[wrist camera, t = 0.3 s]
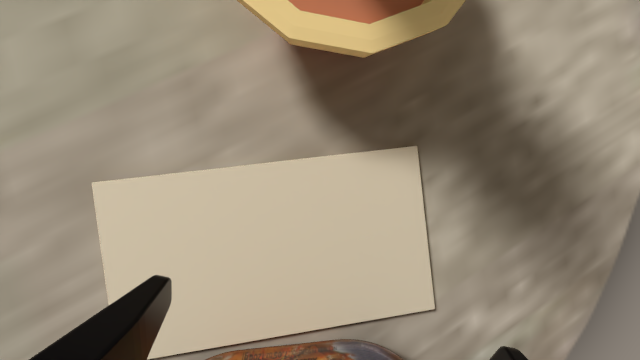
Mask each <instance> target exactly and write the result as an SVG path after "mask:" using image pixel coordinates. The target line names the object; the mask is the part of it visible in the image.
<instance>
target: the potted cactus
mask: <svg viewBox="0 0 640 360" xmlns="http://www.w3.org/2000/svg"><path fill="white" fill-rule="evenodd" d="M237 1H238V2H240V3H241V4H242V5H243V6H244V7H246V8H247V9H248V10H249V11H251V12H252V13H253V14H254V15H255V16H257V17H258V18H259V19H260V20H262V21H263V22H264V23H265V24H266V25H268V26H269V27H270V28H271V29H273V30H274V31H275V32H276V33H277V34H279V35H280V36H281V37H282V38H283V39H285V40H286V41H287V42H288V43H290V44H291V45H297V46H302V47H308V48H313V49H319V50H324V51H330V52H335V53H341V54H346V55H352V56H357V57H363V58H365V57H367V56H370V55H373V54H375V53H378V52H380V51H383V50H386V49H388V48H391V47H394V46H396V45H399V44H402V43H404V42H407V41H409V40H412V39H415V38H417V37H420V36H423V35H425V34H428V33H430V32H433V31H435V30H437V29H439V28H442V27H444V26H446V25H447V24H448V23H449V22H450V20H451V19H452V18H453V16H454V15H455V14H456V13H457V11H458V10H459V9H460V7H461V6H462V5H463V3H464V2H465V1H466V0H237Z"/></svg>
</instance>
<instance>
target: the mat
mask: <svg viewBox="0 0 640 360" xmlns="http://www.w3.org/2000/svg"><path fill="white" fill-rule="evenodd" d="M92 189H93V196H94V203H95V211H96V218H97V225H98V232H99V239H100V246H101V254H102V261H103V268H104V275H105V282H106V289H107V297H108V304H109V305H110V304H112V303H113V302H115V301H116V300H118V299H119V298H121V297H122V296H124V295H125V294H127V293H128V292H129V291H131V290H132V289H134V288H135V287H137V286H138V285H140V284H141V283H143V282H144V281H146V280H147V279H149V278H150V277H152V276H154V275H160V276H165V277H169V278H170V279H171V281H172V300H171V304H170V307H169V310H168V312H167V314H166V316H165V319H164V321H163V323H162V326H161V328H160V330H159V332H158V335H157V337H156V339H155V341H154V344H153V346H152V348H151V351H150V353H149V355H148V357H147V359H153V358H158V357H164V356H170V355H176V354H181V353H187V352H193V351H198V350H204V349H210V348H215V347H221V346H227V345H233V344H238V343H244V342H250V341H255V340H261V339H267V338H273V337H278V336H284V335H290V334H295V333H301V332H307V331H312V330H318V329H324V328H330V327H335V326H341V325H347V324H352V323H358V322H364V321H369V320H375V319H381V318H387V317H392V316H398V315H404V314H409V313H415V312H421V311H426V310H432V309H435V305H434V296H433V286H432V277H431V268H430V259H429V250H428V241H427V231H426V222H425V213H424V204H423V195H422V186H421V176H420V167H419V158H418V149H417V146H411V147H402V148H393V149H385V150H376V151H367V152H358V153H349V154H341V155H332V156H323V157H314V158H305V159H296V160H288V161H279V162H270V163H261V164H252V165H244V166H235V167H226V168H217V169H208V170H200V171H191V172H182V173H173V174H164V175H156V176H147V177H138V178H129V179H120V180H112V181H103V182H94V183H92Z"/></svg>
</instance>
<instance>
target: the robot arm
mask: <svg viewBox="0 0 640 360" xmlns="http://www.w3.org/2000/svg"><path fill="white" fill-rule="evenodd" d="M171 300H172V281H171V279H170V278H169V277H165V276H160V275H154V276H152V277H150V278H149V279H147V280H146V281H144V282H143V283H141V284H140V285H138V286H137V287H135V288H134V289H132V290H131V291H129V292H128V293H127V294H125V295H124V296H122V297H121V298H119V299H118V300H116V301H115V302H113V303H112V304H110V305H109V306H107V307H106V308H104V309H103V310H101V311H100V312H99V313H97V314H96V315H94V316H93V317H91V318H90V319H88V320H87V321H85V322H84V323H82V324H81V325H79V326H78V327H76V328H75V329H73V330H72V331H70V332H69V333H68V334H66V335H65V336H63V337H62V338H60V339H59V340H57V341H56V342H54V343H53V344H51V345H50V346H48V347H47V348H45V349H44V350H42V351H41V352H39V353H38V354H37V355H35V356H34V357H32V358H31V359H29V360H147V357H148V355H149V353H150V351H151V348H152V346H153V344H154V341H155V339H156V337H157V335H158V332H159V330H160V328H161V326H162V323H163V321H164V319H165V316H166V314H167V312H168V310H169V307H170V304H171ZM490 360H528V359H527V358H526V357H525V356H524V355H523V354H522V353H521V352H520V351H519V350H517V349H515V348H510V347H505V346H502V347H500V348H499V349H498V350H497V351H496V353H495V354H494V355H493V356H492V357H491V359H490Z"/></svg>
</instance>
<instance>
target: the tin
mask: <svg viewBox="0 0 640 360" xmlns="http://www.w3.org/2000/svg"><path fill="white" fill-rule="evenodd" d="M206 360H403V359H402V358H401V357H399V356H398V355H397V354H395V353H393V352H392V351H390V350H388V349H386V348H384V347H382V346H379V345H376V344H374V343H371V342H366V341H360V340H351V339H340V340H329V341H321V342H311V343H302V344H293V345H284V346H274V347H264V348H255V349H245V350H237V351H230V352H226V353H222V354H219V355H216V356H213V357H210V358H208V359H206Z"/></svg>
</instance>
